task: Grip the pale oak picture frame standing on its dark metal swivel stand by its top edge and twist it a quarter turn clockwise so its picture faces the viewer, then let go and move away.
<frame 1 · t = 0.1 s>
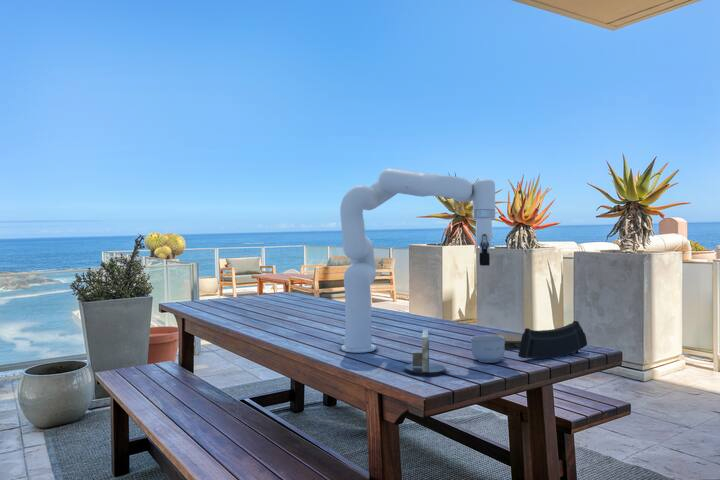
hand: (484, 264, 174), 31 cm above the table, tool pointing down, fingers open, 9 cm apart
teacup: (491, 361, 165), on the table
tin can: (507, 345, 191), on the table
stand: (425, 371, 151), on the table
frame: (420, 349, 151), point 6 cm above the table, hinge at 0.0°
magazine: (554, 357, 171), on the table
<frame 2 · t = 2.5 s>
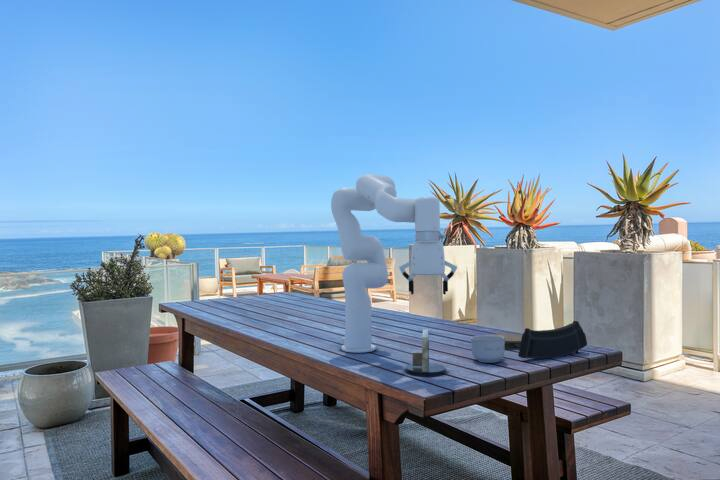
hand: (428, 294, 152), 23 cm above the table, tool pointing down, fingers open, 9 cm apart
nothing on the table moved.
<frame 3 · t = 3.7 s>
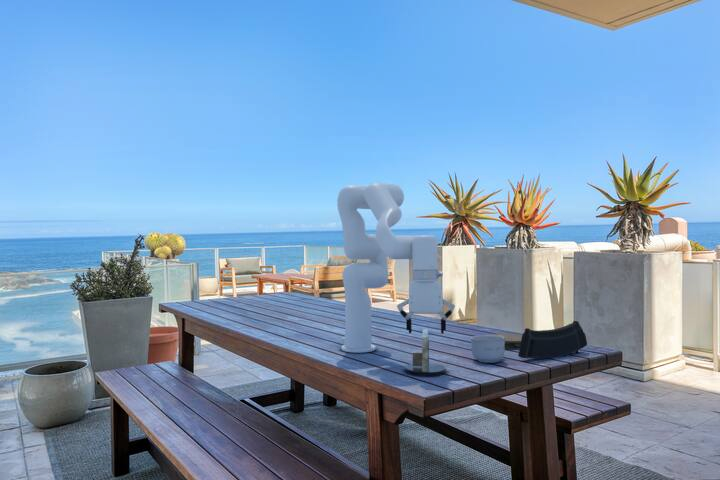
hand: (426, 332, 151), 12 cm above the table, tool pointing down, fingers open, 9 cm apart
nothing on the table moved.
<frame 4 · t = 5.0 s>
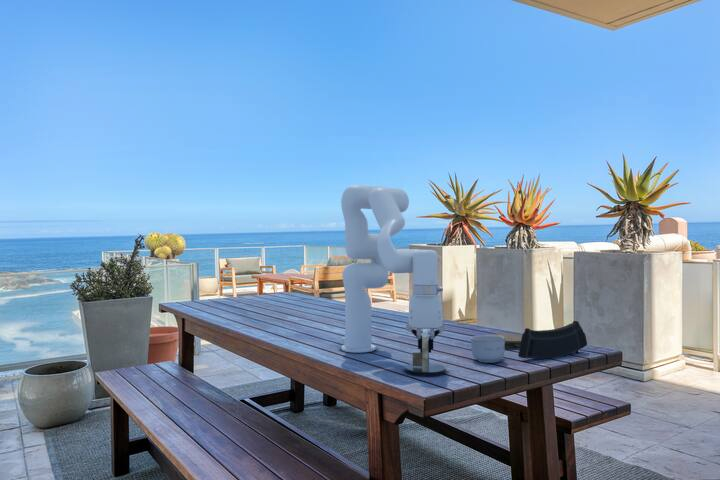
hand: (425, 351, 151), 6 cm above the table, tool pointing down, fingers closed on frame, 2 cm apart
frame: (420, 349, 151), point 7 cm above the table, hinge at 0.1°, touching gripper
everything else where it was.
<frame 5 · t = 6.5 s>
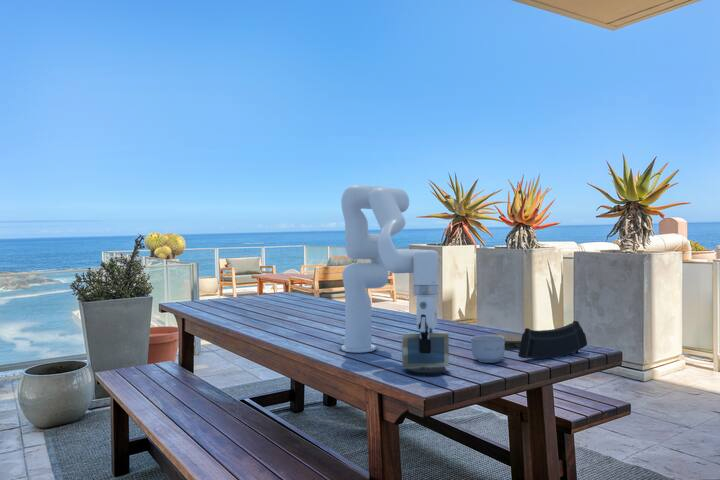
hand: (426, 351, 151), 6 cm above the table, tool pointing down, fingers closed on frame, 3 cm apart
frame: (424, 348, 153), point 6 cm above the table, hinge at -74.4°, touching gripper
everything else where it was.
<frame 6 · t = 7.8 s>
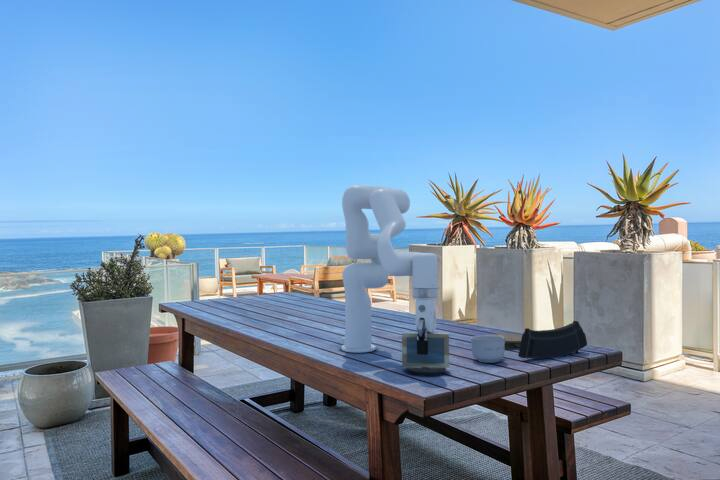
hand: (425, 351, 151), 6 cm above the table, tool pointing down, fingers open, 8 cm apart
frame: (425, 348, 153), point 6 cm above the table, hinge at -87.2°
everything else where it was.
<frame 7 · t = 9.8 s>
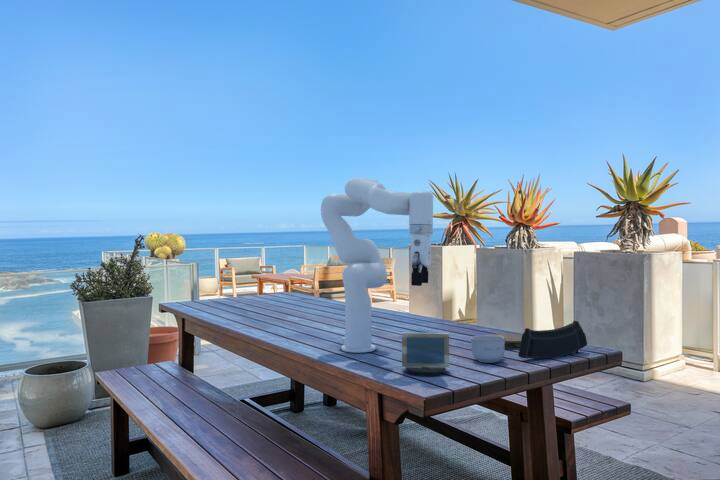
hand: (420, 284, 160), 26 cm above the table, tool pointing down, fingers open, 9 cm apart
nothing on the table moved.
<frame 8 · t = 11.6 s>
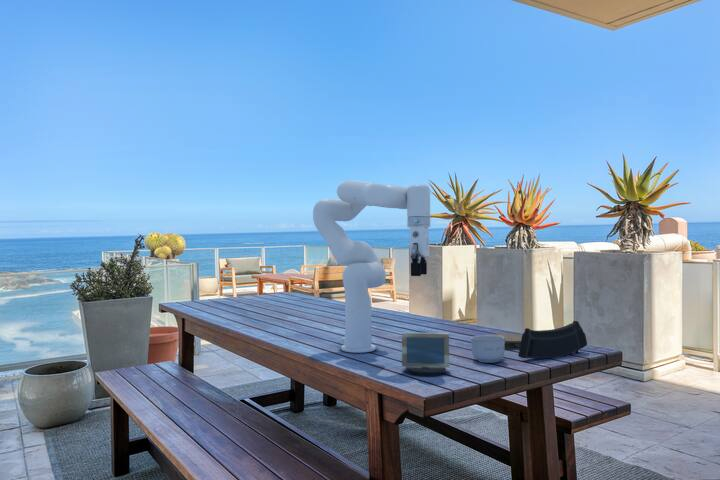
hand: (419, 275, 164), 28 cm above the table, tool pointing down, fingers open, 9 cm apart
nothing on the table moved.
at the end: frame at -87° (first picture: +0°); the gripper is holding nothing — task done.
